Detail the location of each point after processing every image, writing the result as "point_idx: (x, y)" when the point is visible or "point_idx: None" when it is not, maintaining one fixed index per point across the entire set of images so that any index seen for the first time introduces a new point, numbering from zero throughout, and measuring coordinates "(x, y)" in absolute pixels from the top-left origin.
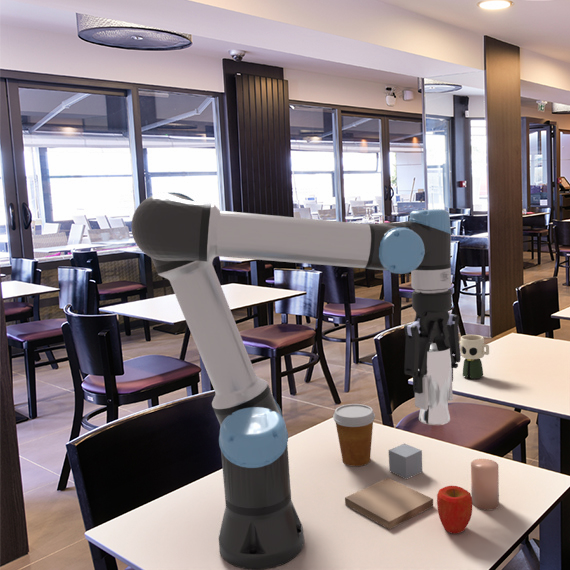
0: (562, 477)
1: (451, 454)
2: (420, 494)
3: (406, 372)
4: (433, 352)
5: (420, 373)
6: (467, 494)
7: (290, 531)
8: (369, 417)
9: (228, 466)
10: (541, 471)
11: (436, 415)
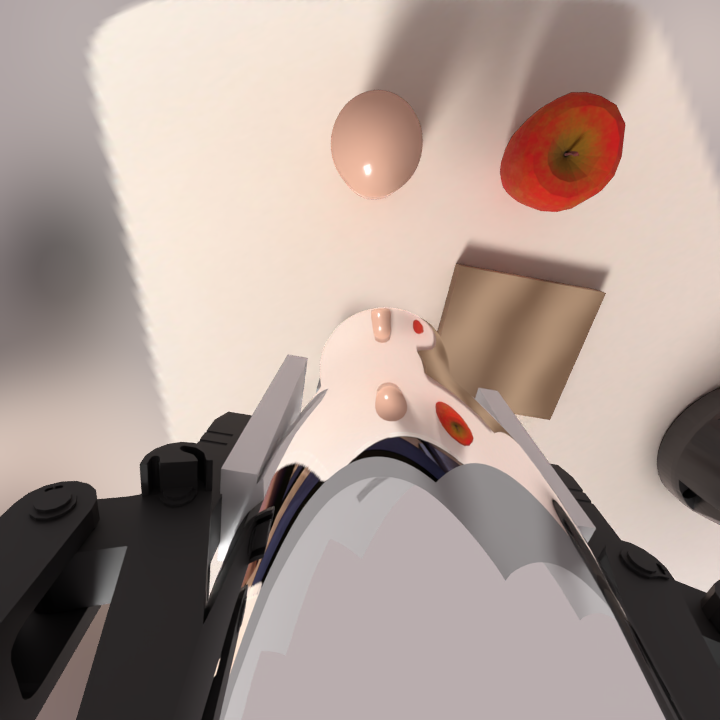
0: (98, 35)
1: (202, 355)
2: (455, 301)
3: None
4: None
5: (676, 587)
6: (569, 108)
7: None
8: None
9: None
10: (112, 111)
11: (439, 348)
